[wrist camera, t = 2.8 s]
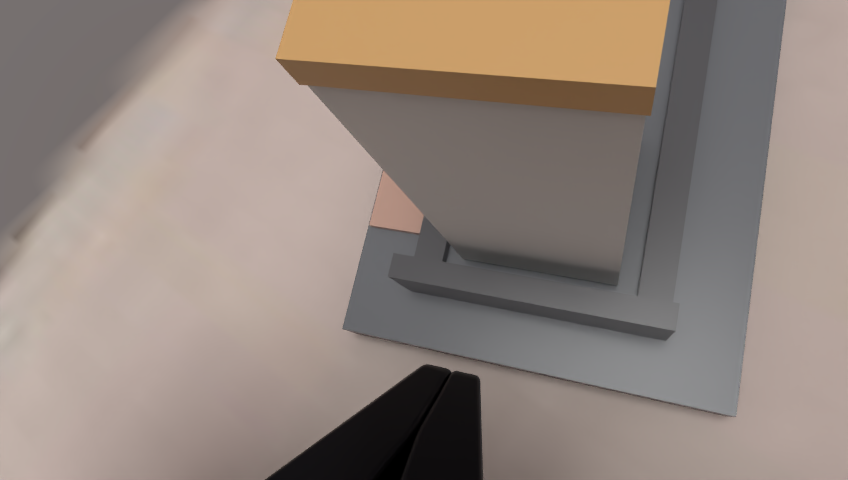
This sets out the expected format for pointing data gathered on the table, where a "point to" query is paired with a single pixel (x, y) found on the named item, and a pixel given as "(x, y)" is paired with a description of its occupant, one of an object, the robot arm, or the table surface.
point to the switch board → (643, 250)
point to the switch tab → (495, 115)
